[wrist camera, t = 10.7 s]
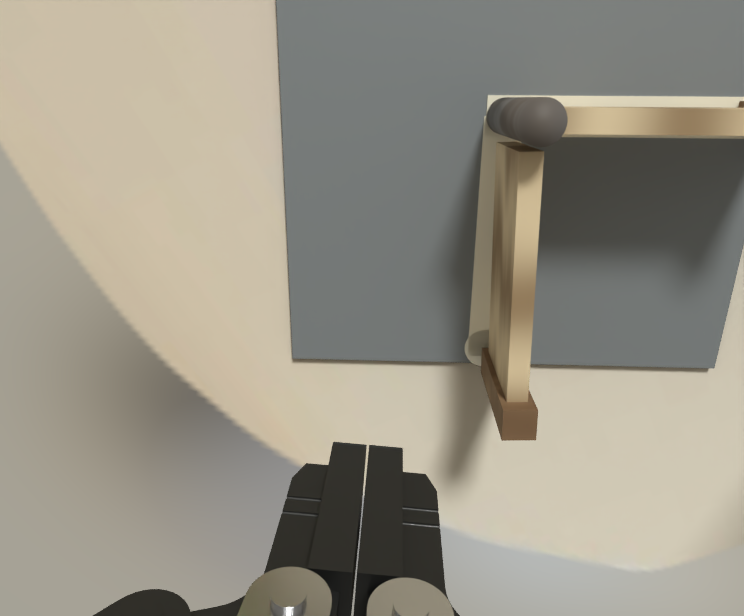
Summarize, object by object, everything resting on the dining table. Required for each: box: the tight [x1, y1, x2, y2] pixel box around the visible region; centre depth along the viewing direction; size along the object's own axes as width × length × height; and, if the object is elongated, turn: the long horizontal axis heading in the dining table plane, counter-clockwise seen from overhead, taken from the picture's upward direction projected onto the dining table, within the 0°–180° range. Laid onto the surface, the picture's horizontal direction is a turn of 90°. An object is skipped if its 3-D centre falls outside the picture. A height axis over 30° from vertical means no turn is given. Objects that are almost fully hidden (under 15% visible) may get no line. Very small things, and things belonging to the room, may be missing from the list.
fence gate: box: [481, 141, 544, 440], centre depth 28 cm, size 13×2×7 cm, turn 2°
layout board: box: [276, 0, 744, 368], centre depth 31 cm, size 25×21×1 cm
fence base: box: [487, 97, 744, 147], centre depth 25 cm, size 14×2×8 cm, turn 90°
